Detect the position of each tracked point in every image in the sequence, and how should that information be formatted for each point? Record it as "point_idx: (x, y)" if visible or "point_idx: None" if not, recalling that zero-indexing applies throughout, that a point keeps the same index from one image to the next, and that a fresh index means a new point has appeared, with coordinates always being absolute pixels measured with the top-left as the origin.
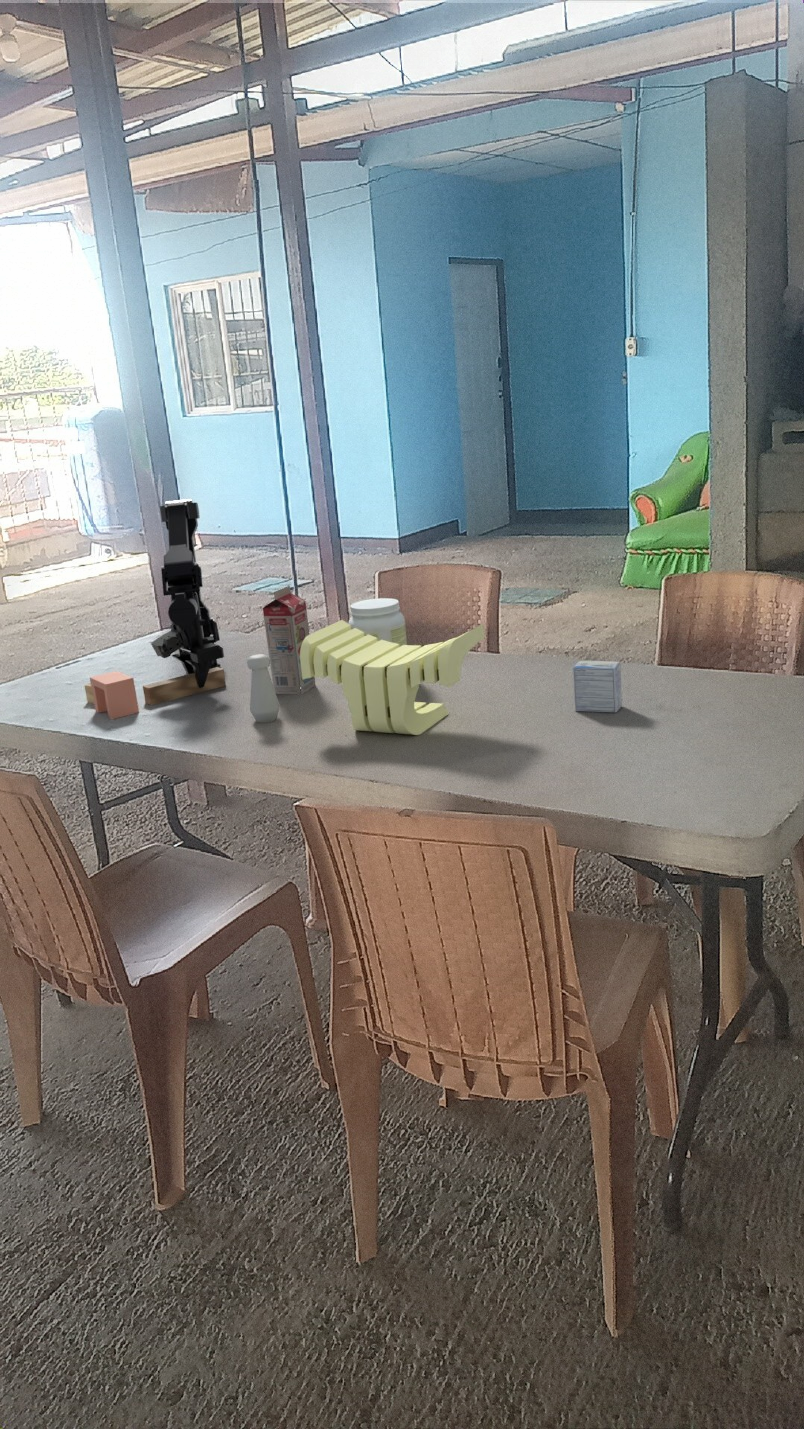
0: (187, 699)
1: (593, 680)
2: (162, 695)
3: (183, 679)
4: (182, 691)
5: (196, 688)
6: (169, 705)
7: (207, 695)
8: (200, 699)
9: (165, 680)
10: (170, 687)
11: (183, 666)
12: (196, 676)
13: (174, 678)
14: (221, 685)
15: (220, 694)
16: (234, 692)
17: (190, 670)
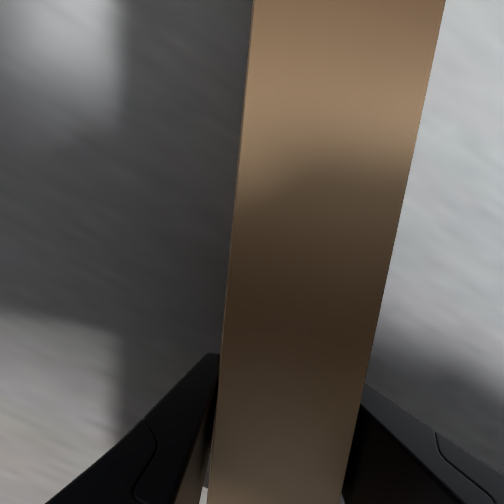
0: (139, 195)
1: None
2: (251, 16)
3: (229, 272)
4: (232, 222)
5: (222, 333)
6: (110, 13)
7: (105, 325)
8: (52, 247)
9: (402, 117)
10: (244, 99)
11: (500, 475)
12: (173, 405)
13: (368, 235)
14: (209, 472)
15: (49, 382)
16: (13, 448)
17: (379, 464)
